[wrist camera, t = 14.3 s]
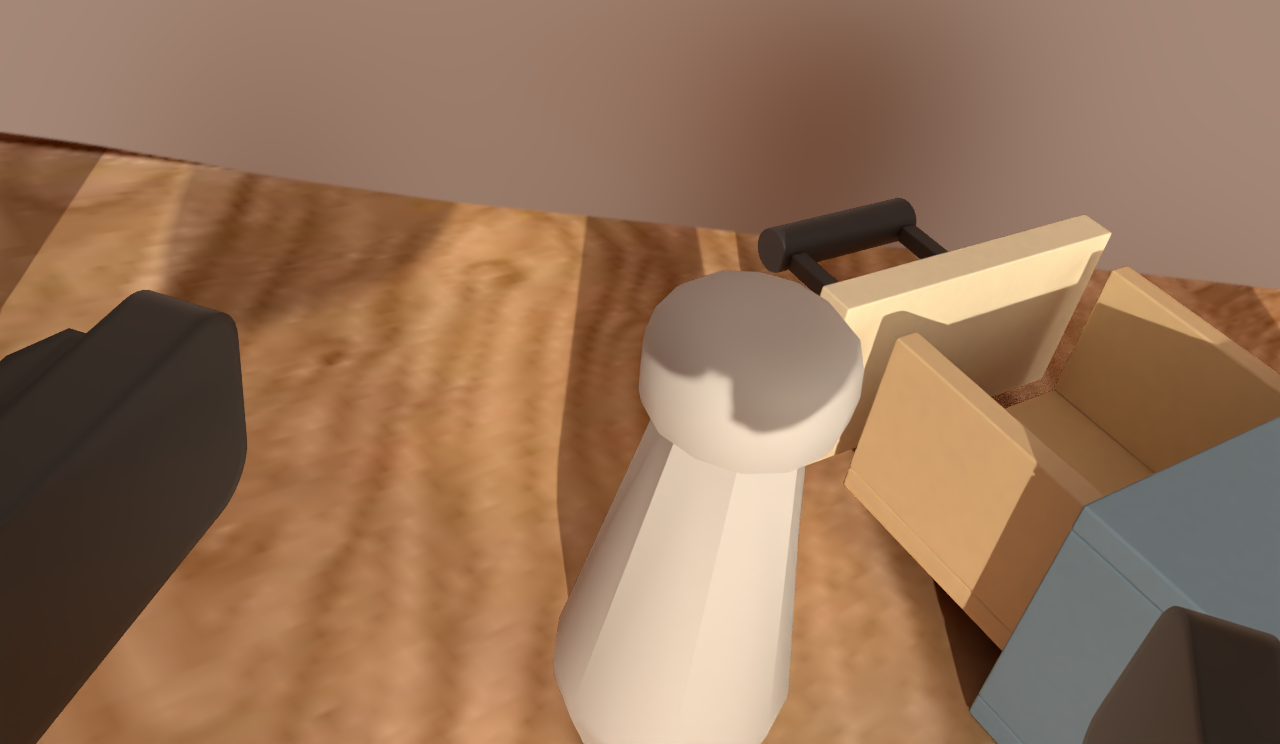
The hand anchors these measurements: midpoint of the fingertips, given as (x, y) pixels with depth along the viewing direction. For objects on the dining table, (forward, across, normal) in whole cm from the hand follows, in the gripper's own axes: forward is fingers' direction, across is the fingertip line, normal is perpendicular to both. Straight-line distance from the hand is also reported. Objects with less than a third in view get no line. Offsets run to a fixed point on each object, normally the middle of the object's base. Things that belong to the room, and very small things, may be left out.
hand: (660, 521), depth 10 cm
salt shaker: (+11, 0, +19) cm, 22 cm away
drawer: (+23, -8, +18) cm, 30 cm away
